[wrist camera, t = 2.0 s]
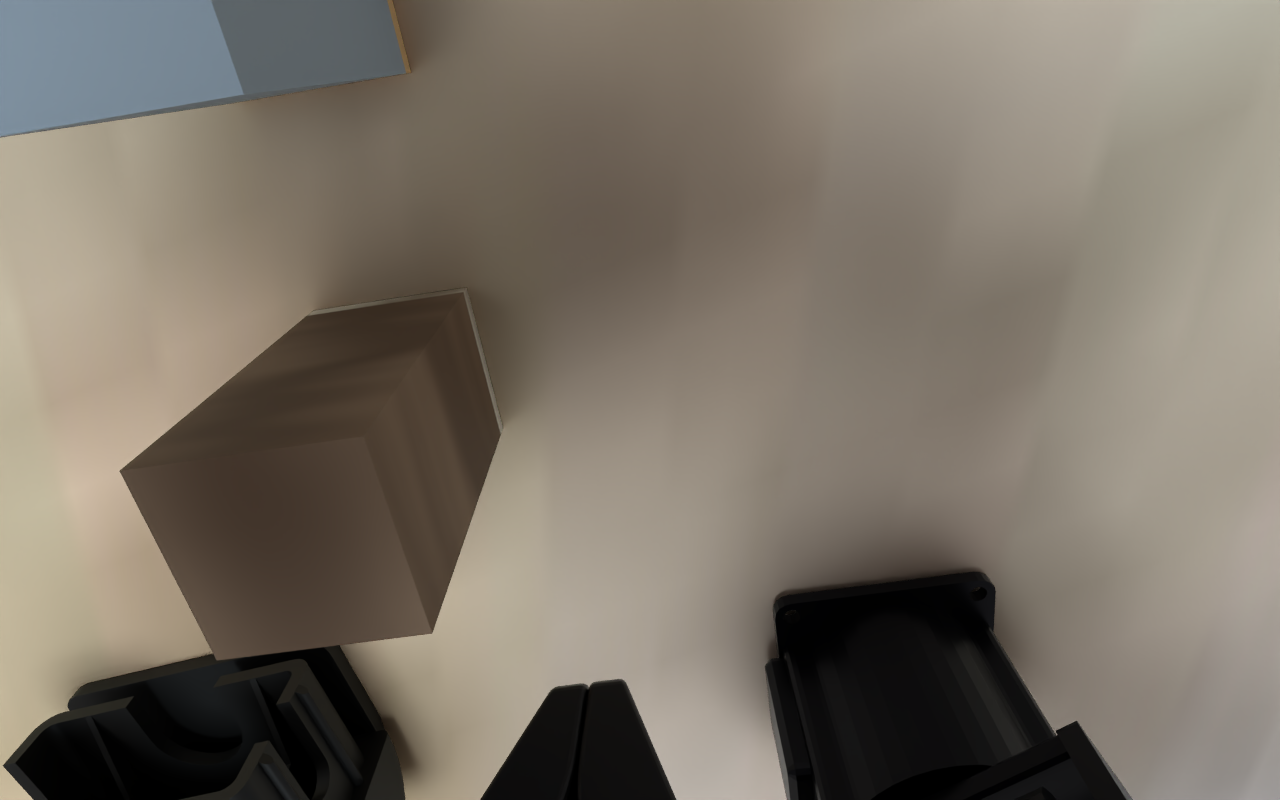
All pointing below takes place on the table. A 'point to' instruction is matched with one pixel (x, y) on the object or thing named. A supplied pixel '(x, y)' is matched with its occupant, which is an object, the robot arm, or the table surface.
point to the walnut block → (328, 479)
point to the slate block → (181, 55)
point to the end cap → (217, 735)
